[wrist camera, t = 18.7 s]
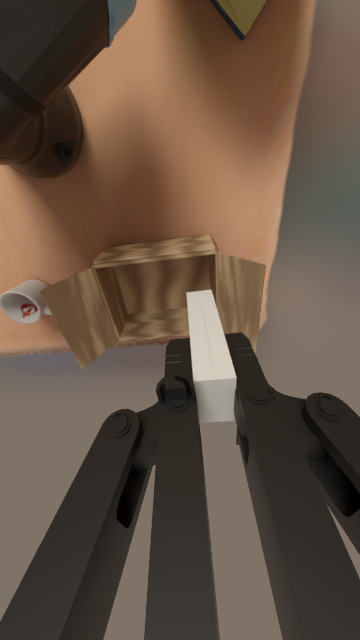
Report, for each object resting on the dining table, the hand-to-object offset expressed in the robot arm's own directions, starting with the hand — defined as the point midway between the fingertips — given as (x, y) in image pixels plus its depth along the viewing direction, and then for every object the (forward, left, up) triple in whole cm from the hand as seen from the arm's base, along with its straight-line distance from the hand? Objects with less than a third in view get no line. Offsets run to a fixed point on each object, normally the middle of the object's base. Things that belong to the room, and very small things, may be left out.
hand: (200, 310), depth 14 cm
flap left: (-17, -13, -24) cm, 32 cm away
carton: (-6, -13, -34) cm, 37 cm away
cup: (-34, -13, -35) cm, 50 cm away
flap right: (+5, -13, -24) cm, 28 cm away
